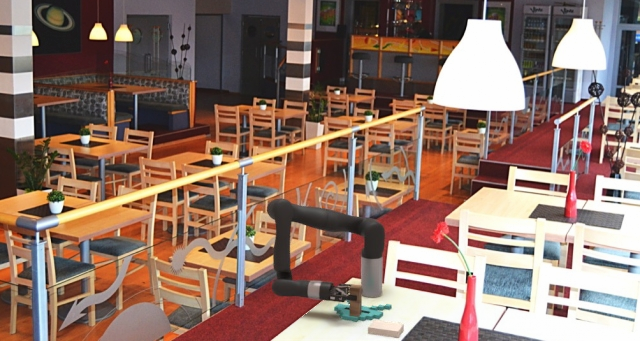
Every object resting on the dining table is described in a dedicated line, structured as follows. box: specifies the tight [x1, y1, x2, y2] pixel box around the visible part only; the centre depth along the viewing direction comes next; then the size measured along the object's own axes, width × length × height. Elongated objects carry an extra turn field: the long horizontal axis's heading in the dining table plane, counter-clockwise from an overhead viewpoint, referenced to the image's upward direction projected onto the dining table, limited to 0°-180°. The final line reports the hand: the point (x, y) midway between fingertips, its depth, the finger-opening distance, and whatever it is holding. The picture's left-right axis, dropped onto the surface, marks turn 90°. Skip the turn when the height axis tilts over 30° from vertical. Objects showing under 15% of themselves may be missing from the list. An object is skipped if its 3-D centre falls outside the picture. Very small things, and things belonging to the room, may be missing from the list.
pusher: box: [349, 283, 363, 317], centre depth 329 cm, size 4×4×12 cm
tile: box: [367, 319, 405, 338], centre depth 318 cm, size 8×3×12 cm
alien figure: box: [333, 300, 393, 323], centre depth 337 cm, size 20×2×20 cm
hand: (359, 294), depth 328 cm, fingers open, 8 cm apart
